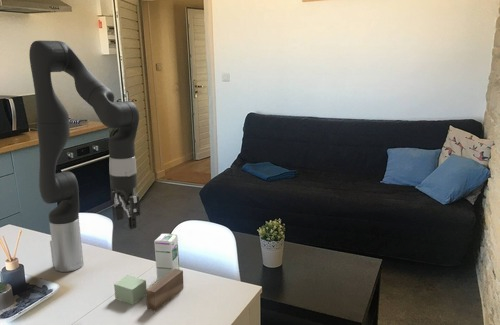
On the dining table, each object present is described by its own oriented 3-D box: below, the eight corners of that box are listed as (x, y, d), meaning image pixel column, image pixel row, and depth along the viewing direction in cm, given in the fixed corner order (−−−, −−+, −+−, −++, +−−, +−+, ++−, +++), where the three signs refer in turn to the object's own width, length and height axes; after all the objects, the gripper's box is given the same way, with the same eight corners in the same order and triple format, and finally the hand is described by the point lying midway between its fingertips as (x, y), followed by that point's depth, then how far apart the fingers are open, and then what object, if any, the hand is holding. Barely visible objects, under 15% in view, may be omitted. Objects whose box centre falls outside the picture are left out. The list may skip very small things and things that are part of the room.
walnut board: (147, 308, 123) (146, 289, 122) (175, 285, 135) (174, 268, 134) (155, 311, 122) (154, 292, 120) (183, 287, 134) (182, 270, 133)
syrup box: (173, 283, 137) (171, 241, 133) (156, 281, 138) (153, 239, 134) (180, 274, 142) (178, 234, 139) (163, 273, 143) (161, 232, 140)
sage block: (115, 299, 128) (114, 284, 127) (129, 289, 133) (128, 275, 132) (133, 305, 125) (132, 289, 124) (146, 295, 130) (145, 280, 129)
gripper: (100, 168, 126) (103, 219, 130) (121, 179, 116) (124, 234, 120) (124, 164, 131) (127, 213, 135) (146, 174, 120) (148, 228, 125)
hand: (126, 223), depth 127 cm, fingers open, 8 cm apart
